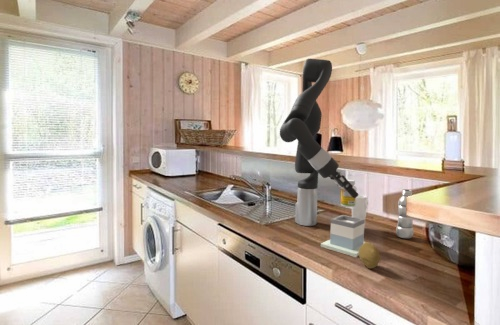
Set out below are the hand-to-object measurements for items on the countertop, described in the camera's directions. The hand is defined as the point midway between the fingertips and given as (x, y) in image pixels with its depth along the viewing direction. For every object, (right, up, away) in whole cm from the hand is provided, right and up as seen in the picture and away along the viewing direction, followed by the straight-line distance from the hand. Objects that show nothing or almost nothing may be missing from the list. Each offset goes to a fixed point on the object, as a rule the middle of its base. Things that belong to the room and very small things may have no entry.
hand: (353, 194), depth 115 cm
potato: (0, -22, -15) cm, 27 cm away
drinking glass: (+10, -18, +25) cm, 32 cm away
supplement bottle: (-2, -4, 0) cm, 5 cm away
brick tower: (-2, -20, +2) cm, 20 cm away
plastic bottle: (+25, -19, +13) cm, 35 cm away
